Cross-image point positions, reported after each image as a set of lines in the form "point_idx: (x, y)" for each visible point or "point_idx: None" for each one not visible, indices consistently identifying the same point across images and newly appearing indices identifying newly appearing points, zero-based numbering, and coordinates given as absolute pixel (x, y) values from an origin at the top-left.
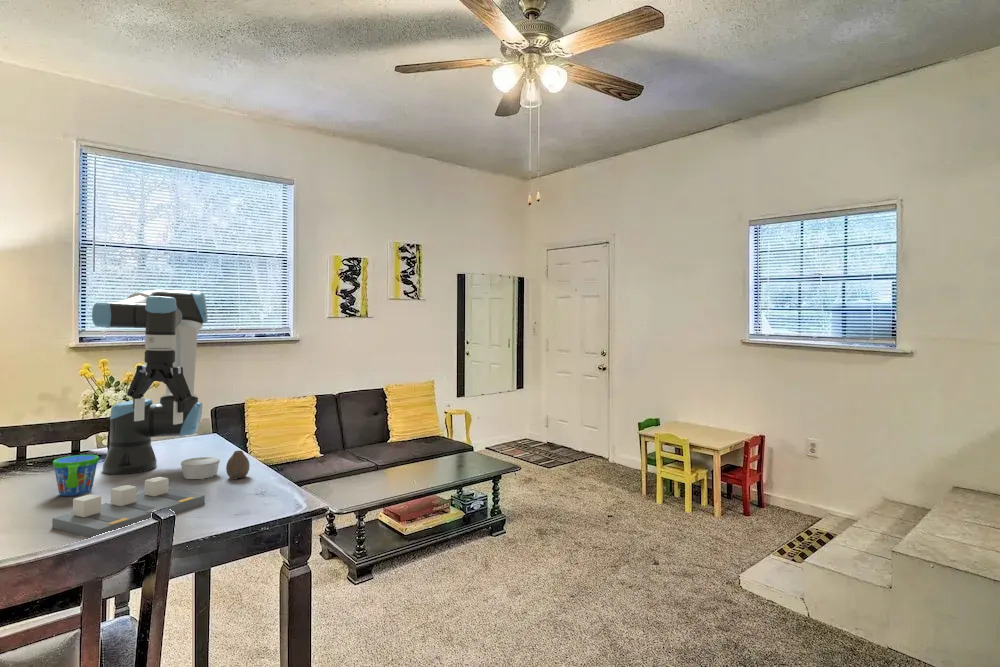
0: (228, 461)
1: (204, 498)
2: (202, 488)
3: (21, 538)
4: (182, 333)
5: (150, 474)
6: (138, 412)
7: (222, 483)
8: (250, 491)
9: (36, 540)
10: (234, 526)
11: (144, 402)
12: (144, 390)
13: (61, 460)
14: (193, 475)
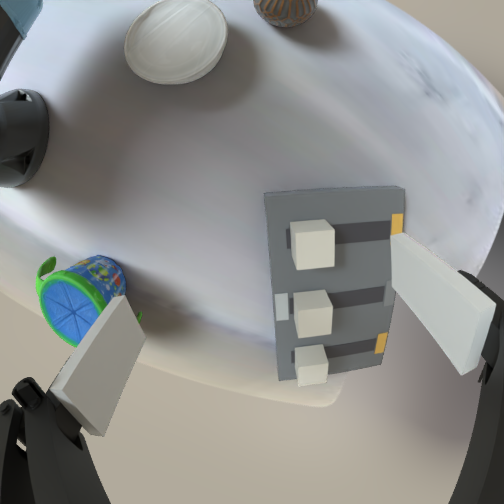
0: (277, 8)
1: (401, 188)
2: (294, 107)
3: (283, 394)
4: None
5: (75, 122)
6: (125, 359)
7: (296, 57)
8: (404, 81)
9: (307, 389)
10: (488, 239)
11: (77, 366)
12: (73, 468)
13: (63, 328)
14: (203, 74)
